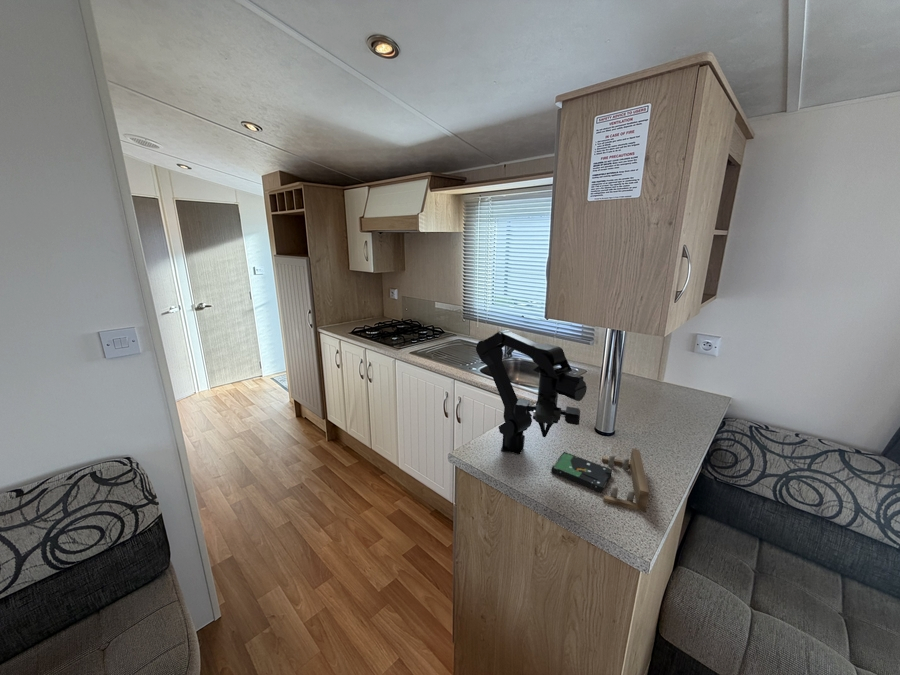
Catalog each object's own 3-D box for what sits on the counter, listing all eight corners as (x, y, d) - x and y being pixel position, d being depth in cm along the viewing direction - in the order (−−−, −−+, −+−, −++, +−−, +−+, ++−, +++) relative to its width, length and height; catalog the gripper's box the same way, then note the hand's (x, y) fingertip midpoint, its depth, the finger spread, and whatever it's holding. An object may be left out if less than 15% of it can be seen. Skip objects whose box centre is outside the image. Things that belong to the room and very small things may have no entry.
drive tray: (603, 501, 94) (606, 482, 92) (601, 459, 112) (604, 443, 110) (645, 512, 90) (649, 492, 89) (636, 466, 109) (639, 449, 107)
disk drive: (611, 477, 105) (562, 458, 113) (612, 468, 104) (563, 450, 113) (601, 496, 97) (550, 474, 105) (603, 487, 96) (551, 466, 105)
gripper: (511, 394, 98) (508, 443, 102) (581, 406, 92) (575, 458, 96) (518, 380, 108) (515, 426, 112) (582, 390, 102) (577, 437, 106)
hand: (544, 436), depth 106 cm, fingers closed
